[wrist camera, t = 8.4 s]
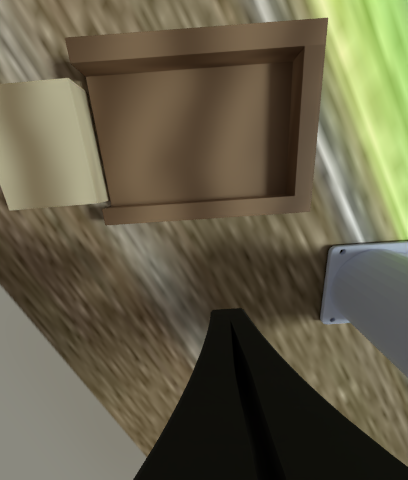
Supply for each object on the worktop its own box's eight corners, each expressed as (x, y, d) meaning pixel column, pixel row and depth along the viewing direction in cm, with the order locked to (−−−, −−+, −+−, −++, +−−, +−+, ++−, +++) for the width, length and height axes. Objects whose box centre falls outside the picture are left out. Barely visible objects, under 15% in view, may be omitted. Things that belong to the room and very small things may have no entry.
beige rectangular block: (89, 94, 14) (68, 78, 12) (112, 200, 17) (97, 203, 14) (2, 101, 14) (-36, 87, 12) (36, 206, 17) (9, 210, 14)
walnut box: (308, 43, 13) (328, 17, 11) (296, 207, 16) (310, 211, 14) (86, 59, 13) (64, 37, 11) (117, 219, 17) (105, 225, 14)
